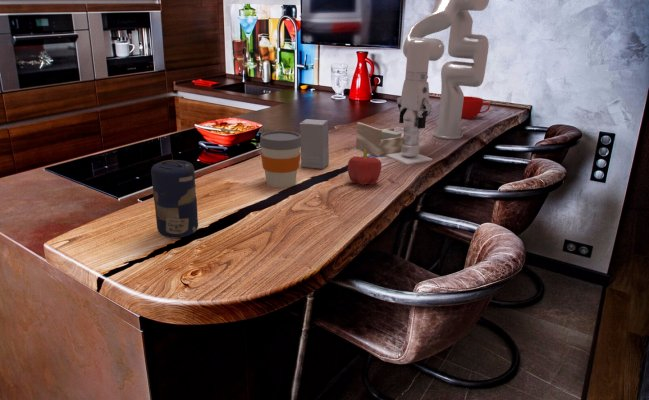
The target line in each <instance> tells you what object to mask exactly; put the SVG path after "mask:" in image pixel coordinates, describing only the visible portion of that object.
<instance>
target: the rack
mask: <svg viewBox="0 0 649 400" xmlns="http://www.w3.org/2000/svg"><path fill="white" fill-rule="evenodd" d="M383 130H390V131H395V128H394V127H391V128H383V129H380V128H377V127H374V126H371V125H368V124H365V123H362V122H360V121H359V122H356V137H355V139H356V140H355V148H356V149H359V150H360V151H363V149H366V150H367V154H371V155H373V156H374V157H375V156H376V158H377V157H378V158H379V157H382V156H383V157H384V156H385V157H386V155H387V154H393V153H400V152H401V146H402V142H403V136H401V137H397V138H390V139H383V140H381V134H382V131H383Z"/></svg>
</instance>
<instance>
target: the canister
mask: <svg viewBox="0 0 649 400" xmlns="http://www.w3.org/2000/svg"><path fill="white" fill-rule="evenodd" d="M195 173H196V172H195V167H194V165H193V163H191V162H189V161H187V160H180V159H179V160H178V159H170V160H169V159H168V160H163V161H159V162H156V163H155V164H153V165H152V167H151V169H150V174H151V183H152V184H151V186H152V193H153V194H152V195H153V202H154V211H155V220H156V229H157V232H158V234H160V235H161V236H163V237H167V238H173V239H175V238H177V239H178V238H179V239H180V238H184V237H187V236H190V235H192V234H194V233H195V232H196V231H197V230H198V229H199V228H198V227H199V219H198V218H199V217H198V215H199V214H198V200H197V192H196V186H197V184H196V179H195Z"/></svg>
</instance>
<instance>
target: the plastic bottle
mask: <svg viewBox="0 0 649 400" xmlns="http://www.w3.org/2000/svg"><path fill="white" fill-rule="evenodd" d="M418 117H420V116H419V114H418V111H414V110H411V109H407V111H406V112H405V114H404V116H403V119H404V120H403V122H404V123H403V136H402V137H403V142H402V146H401V154H402V155H403V156H405V157H416V156H417V155H418V154H420V144H419V142H420V138H419V137H420V135H419V134H420V129H418V128H417V124H418Z"/></svg>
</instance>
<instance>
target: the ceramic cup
mask: <svg viewBox="0 0 649 400" xmlns="http://www.w3.org/2000/svg"><path fill="white" fill-rule="evenodd" d="M484 105H487V108H486V109H485V110H482V107H483V106H484ZM490 108H491V105H490V103H489V102H484V99H483V98H482V97H478V96H469V95H467V96H465V95H464V100H463V108H462V115H461V119H463V118H465V119H464V120H474V119H476V117H477V116H478V115H479V114H482V113H484V114H485V113H486V112H488V111H489V110H490ZM481 110H482V111H481ZM473 118H474V119H473Z"/></svg>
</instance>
